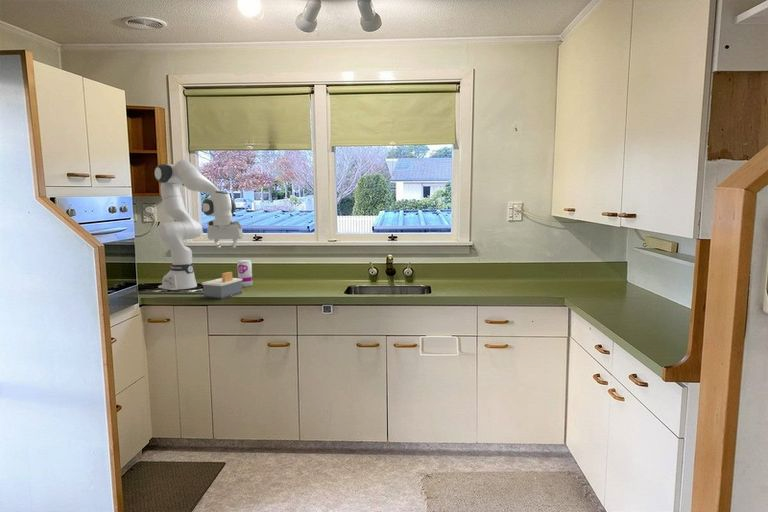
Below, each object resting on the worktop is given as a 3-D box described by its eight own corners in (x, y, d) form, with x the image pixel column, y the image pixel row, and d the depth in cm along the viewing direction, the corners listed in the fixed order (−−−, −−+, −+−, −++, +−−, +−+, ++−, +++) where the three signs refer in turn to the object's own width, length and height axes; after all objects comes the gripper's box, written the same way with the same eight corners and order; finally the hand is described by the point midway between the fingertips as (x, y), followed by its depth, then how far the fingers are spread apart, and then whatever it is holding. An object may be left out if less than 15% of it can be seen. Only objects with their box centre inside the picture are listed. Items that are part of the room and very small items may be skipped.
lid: (201, 286, 263) (200, 274, 262) (224, 280, 278) (223, 269, 278) (221, 288, 258) (220, 275, 257) (242, 282, 273) (241, 270, 272)
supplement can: (248, 287, 290) (247, 261, 288) (235, 286, 292) (234, 261, 290) (255, 284, 298) (253, 259, 296) (242, 284, 300) (241, 259, 298)
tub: (203, 297, 264) (203, 284, 263) (224, 291, 279) (224, 279, 278) (221, 299, 259) (220, 285, 258) (241, 293, 274) (241, 280, 273)
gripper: (244, 220, 263) (246, 246, 264) (212, 222, 270) (214, 247, 271) (237, 221, 257) (239, 248, 259) (204, 222, 264) (206, 248, 265)
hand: (226, 247), depth 265 cm, fingers open, 8 cm apart
